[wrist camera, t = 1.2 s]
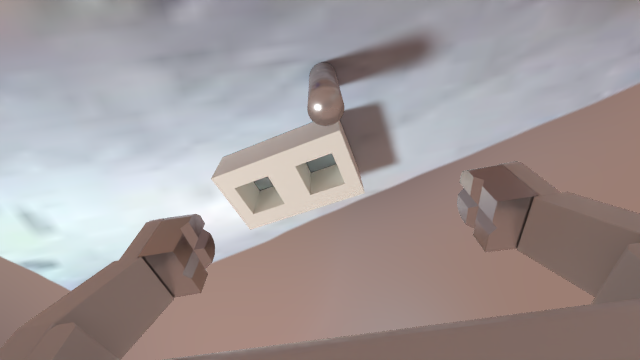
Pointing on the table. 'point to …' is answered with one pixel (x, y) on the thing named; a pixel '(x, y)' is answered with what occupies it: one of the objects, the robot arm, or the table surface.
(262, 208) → the hole block
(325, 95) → the peg
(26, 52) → the table surface
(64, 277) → the table surface
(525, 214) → the robot arm
